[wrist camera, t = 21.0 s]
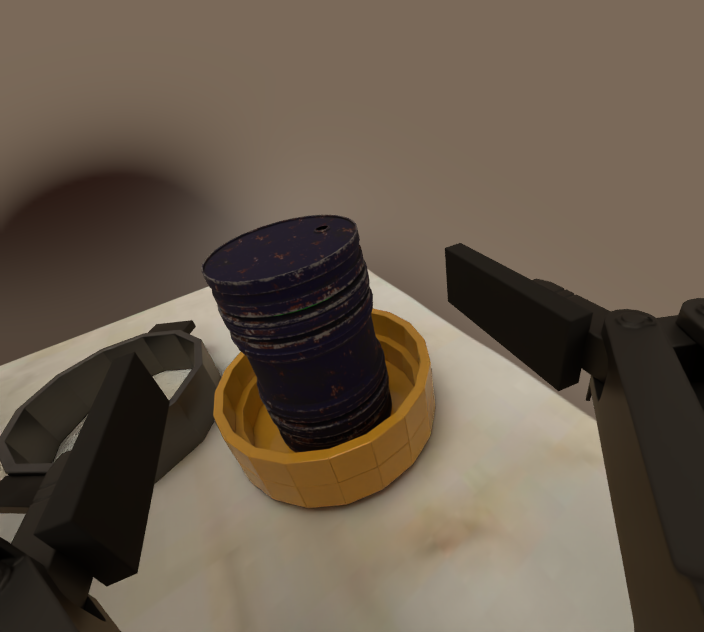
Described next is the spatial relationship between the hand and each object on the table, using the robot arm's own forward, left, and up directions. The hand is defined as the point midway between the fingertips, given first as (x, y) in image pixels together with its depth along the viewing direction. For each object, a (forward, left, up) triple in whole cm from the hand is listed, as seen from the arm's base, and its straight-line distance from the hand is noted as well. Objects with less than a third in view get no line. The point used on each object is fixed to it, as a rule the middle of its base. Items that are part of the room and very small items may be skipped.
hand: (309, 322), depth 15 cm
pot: (-5, +24, -15) cm, 29 cm away
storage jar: (+5, +7, -14) cm, 17 cm away
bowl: (+5, +7, -15) cm, 17 cm away
